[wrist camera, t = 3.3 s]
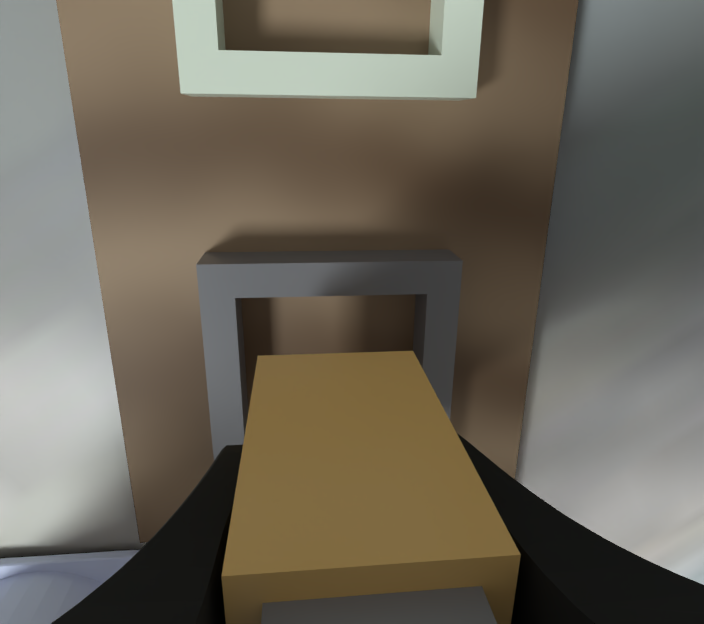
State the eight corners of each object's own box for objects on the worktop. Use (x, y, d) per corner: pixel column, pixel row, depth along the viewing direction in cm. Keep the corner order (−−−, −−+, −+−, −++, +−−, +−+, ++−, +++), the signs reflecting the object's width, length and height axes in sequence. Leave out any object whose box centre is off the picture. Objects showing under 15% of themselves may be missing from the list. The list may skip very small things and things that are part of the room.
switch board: (500, 502, 22) (509, 519, 21) (147, 523, 20) (139, 542, 19) (608, -368, 13) (632, -406, 12) (7, -431, 12) (-18, -480, 11)
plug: (406, 479, 15) (511, 812, 8) (264, 487, 15) (234, 845, 7) (413, 350, 14) (547, 604, 6) (257, 355, 13) (212, 632, 6)
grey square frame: (434, 453, 19) (445, 479, 18) (222, 464, 19) (216, 491, 17) (449, 249, 17) (462, 260, 15) (204, 252, 16) (196, 264, 15)
